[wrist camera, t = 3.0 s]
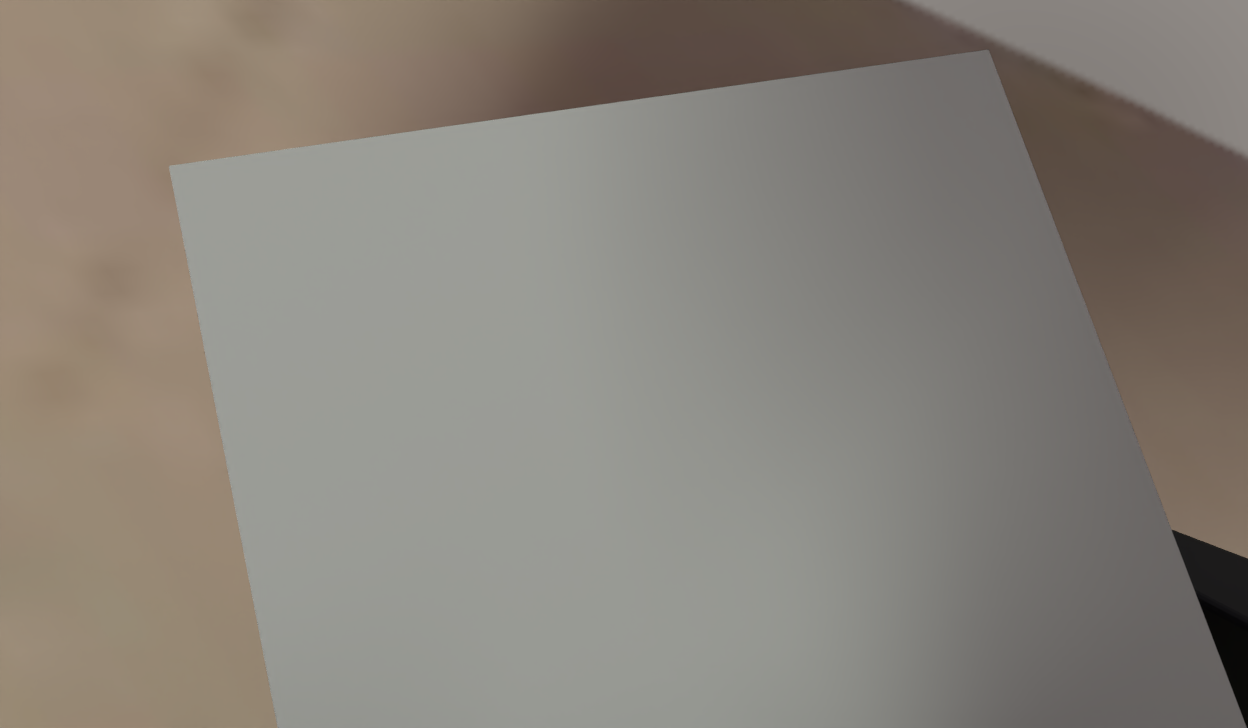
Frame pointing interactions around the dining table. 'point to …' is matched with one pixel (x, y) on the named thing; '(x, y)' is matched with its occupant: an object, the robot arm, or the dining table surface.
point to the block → (687, 423)
